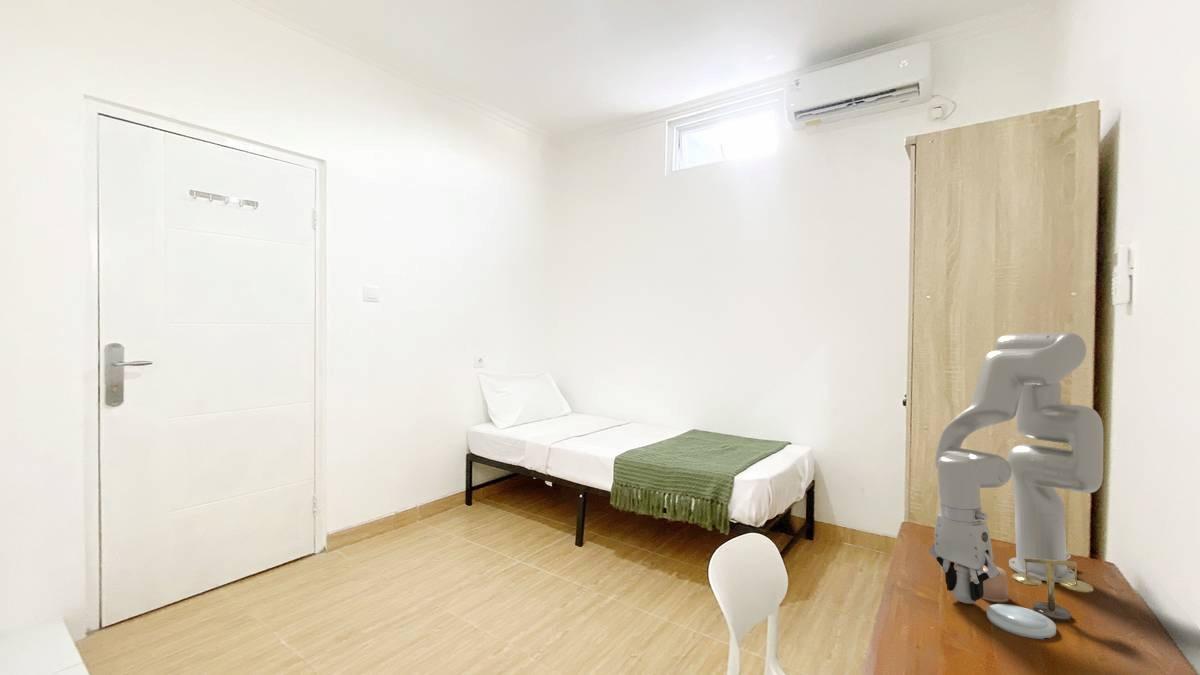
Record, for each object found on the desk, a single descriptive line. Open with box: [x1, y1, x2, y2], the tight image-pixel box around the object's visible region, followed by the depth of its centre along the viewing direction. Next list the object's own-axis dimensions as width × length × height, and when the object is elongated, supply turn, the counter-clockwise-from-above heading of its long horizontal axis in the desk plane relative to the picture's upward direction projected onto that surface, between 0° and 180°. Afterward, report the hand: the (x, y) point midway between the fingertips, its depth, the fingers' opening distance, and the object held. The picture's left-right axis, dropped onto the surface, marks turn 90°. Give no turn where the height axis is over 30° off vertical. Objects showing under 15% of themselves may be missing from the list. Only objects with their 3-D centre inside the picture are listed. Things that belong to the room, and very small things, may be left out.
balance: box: [1011, 558, 1094, 622], centre depth 107 cm, size 6×14×12 cm, turn 25°
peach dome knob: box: [981, 565, 1010, 604], centre depth 116 cm, size 6×6×6 cm
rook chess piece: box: [952, 563, 977, 605], centre depth 113 cm, size 4×4×8 cm
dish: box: [986, 603, 1057, 640], centre depth 104 cm, size 11×11×1 cm
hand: (964, 593), depth 113 cm, fingers closed on rook chess piece, 4 cm apart
